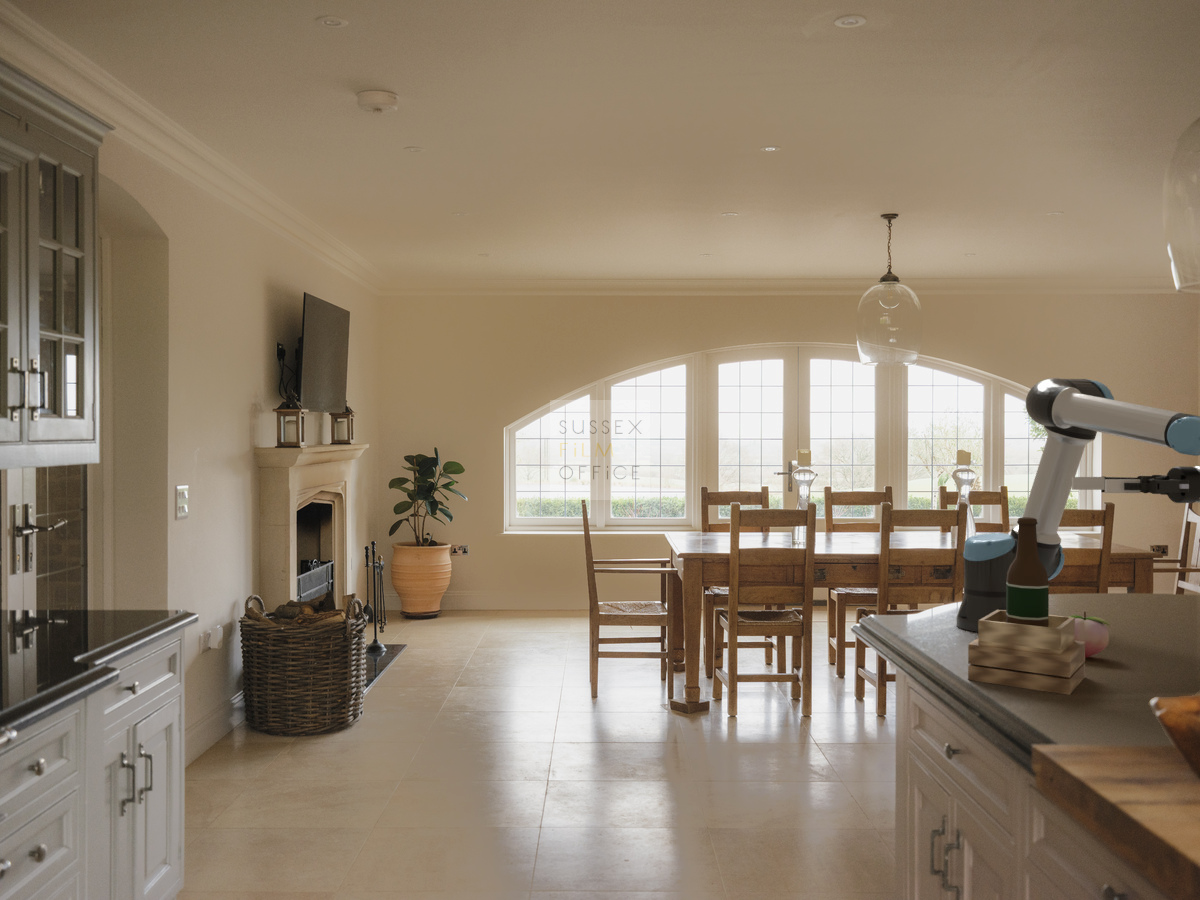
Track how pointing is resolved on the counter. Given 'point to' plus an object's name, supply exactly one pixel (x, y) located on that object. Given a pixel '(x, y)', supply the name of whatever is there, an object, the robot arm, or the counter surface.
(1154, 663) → the counter surface
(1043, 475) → the robot arm
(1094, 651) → the decorative fruit
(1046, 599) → the beer bottle
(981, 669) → the base crate
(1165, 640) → the counter surface
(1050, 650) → the top crate
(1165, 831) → the counter surface
